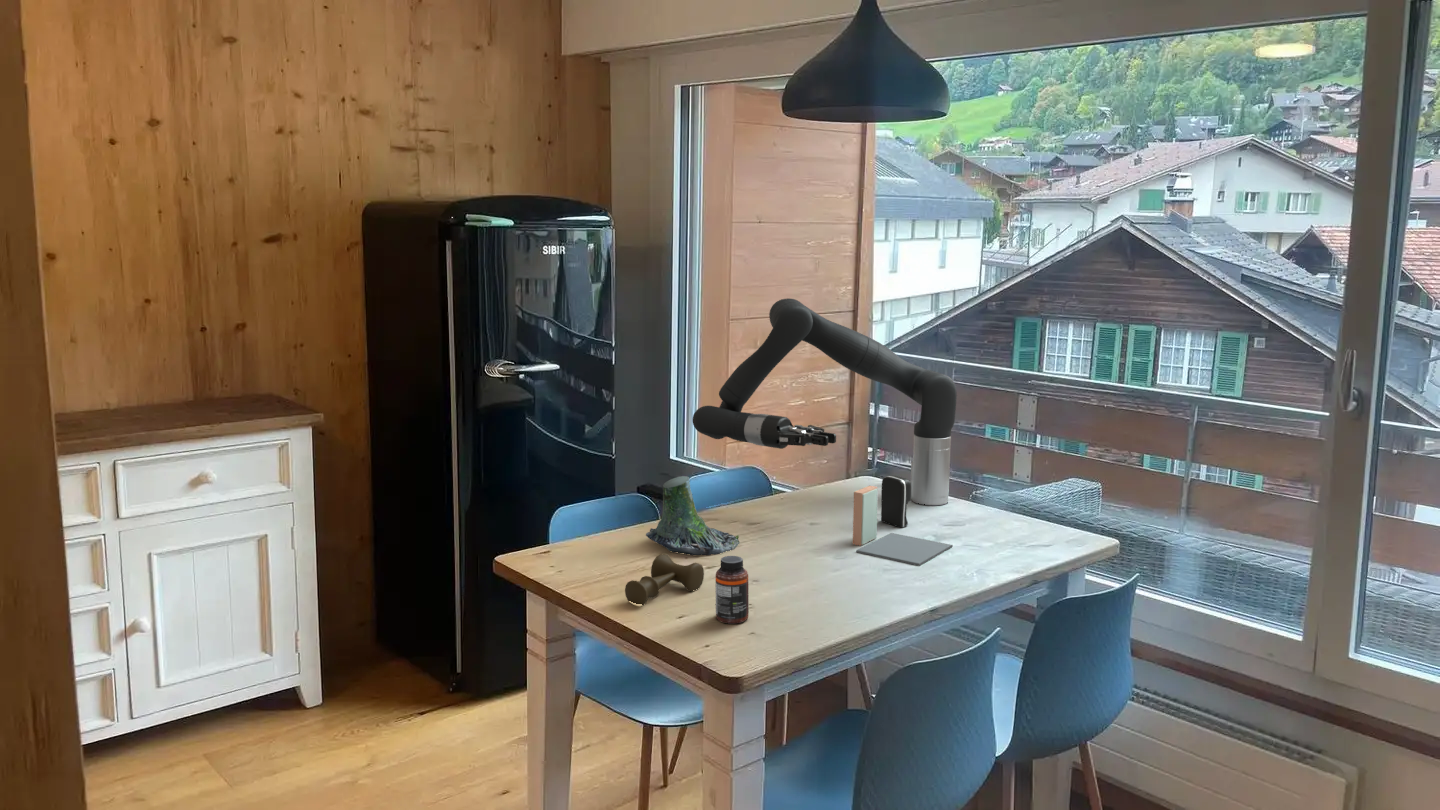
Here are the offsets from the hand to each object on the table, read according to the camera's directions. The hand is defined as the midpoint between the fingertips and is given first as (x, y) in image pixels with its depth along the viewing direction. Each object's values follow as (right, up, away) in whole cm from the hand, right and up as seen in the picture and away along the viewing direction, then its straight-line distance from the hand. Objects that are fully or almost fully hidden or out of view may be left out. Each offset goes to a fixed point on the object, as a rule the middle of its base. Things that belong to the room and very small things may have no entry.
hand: (831, 439), depth 238 cm
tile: (+7, -23, -2) cm, 24 cm away
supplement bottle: (-23, -31, -47) cm, 61 cm away
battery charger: (+17, -20, +12) cm, 29 cm away
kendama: (-35, -29, -33) cm, 56 cm away
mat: (+15, -24, -8) cm, 29 cm away
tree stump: (-31, -23, -4) cm, 39 cm away
